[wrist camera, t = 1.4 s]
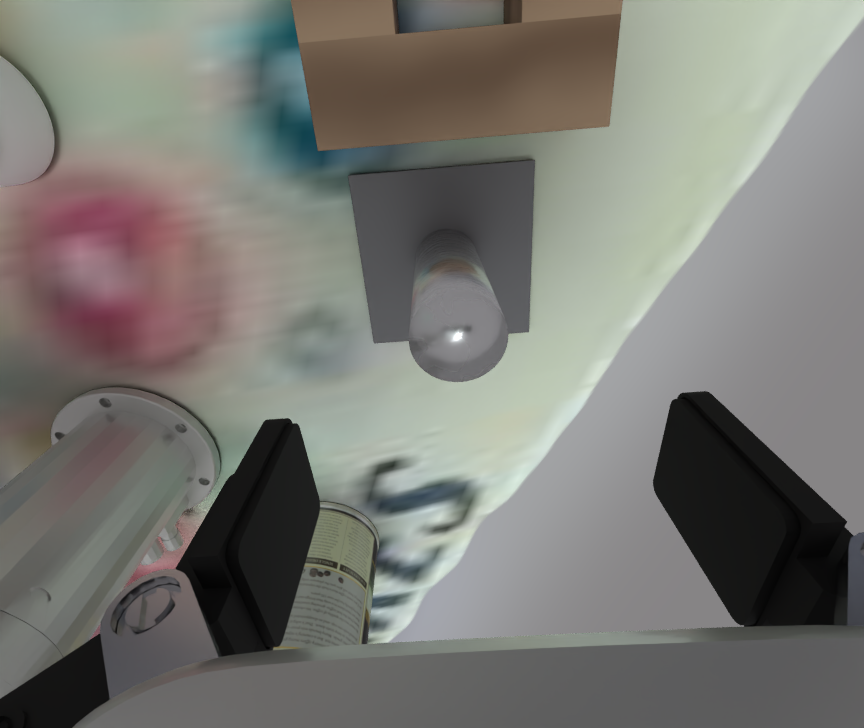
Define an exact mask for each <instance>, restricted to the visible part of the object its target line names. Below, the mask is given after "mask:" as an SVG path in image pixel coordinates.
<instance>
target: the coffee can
mask: <svg viewBox="0 0 864 728" xmlns="http://www.w3.org/2000/svg"><path fill="white" fill-rule="evenodd" d="M378 549H379V537H378V533H377V531H376V529H375V527H374V525H373V524H372V523H371V522H370V521H369V520H368V519H367V518H366V517H365V516H364V515H362V514H361V513H359V512H358V511H356V510H354V509H352V508H349V507H348V506H345V505H340V504H336V503H331V502H320V513H319V517H318V520H317V524H316V527H315V531H314V534H313V538H312V541H311V545H310V548H309V551H308V555H307V558H306V562H305V565H304V569H303V572H302V576H301V579H300V583H299V586H298V590H297V593H296V596H295V600H294V603H293V607H292V610H291V614H290V617H289V621H288V624H287V628H286V631H285V634H284V638H283V641H282V643H281V645H280V646H279V647H274V648H273V650H284V649H298V648H312V647H326V646H340V645H358V644H367V641H368V632H369V622H370V614H371V605H372V596H373V587H374V579H375V571H376V561H377V552H378Z"/></svg>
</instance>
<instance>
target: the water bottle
mask: <svg viewBox="0 0 864 728" xmlns="http://www.w3.org/2000/svg"><path fill="white" fill-rule="evenodd" d="M54 144H55V142H54V131H53V127H52V123H51V120H50V117H49V114H48V112H47V109H46V107H45V105H44V103H43V101H42V100H41V98H40V96H39V95H38V93H37V92H36V90H35V89H34V88H33V86H32V85H31V84H30V82H29V81H28V80H27V79H26V78H25V77H24V76H23V75H22V73H21V72H20V71H18V70H17V69H16V68H15V67H14V66H13V65H12V64H11V63H9V62H8V61H7V60H5V59H4V58H3V57H1V56H0V187H7V186H15V185H20V184H25V183H28V182H30V181H33V180H35V179H36V178H38V177H39V176H41V175H42V174H43V173H44V172H45V171H46V169H47V168H48V166H49V165H50V163H51V160H52V157H53V153H54Z"/></svg>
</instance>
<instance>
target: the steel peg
mask: <svg viewBox="0 0 864 728" xmlns="http://www.w3.org/2000/svg"><path fill="white" fill-rule="evenodd" d="M507 343H508V328H507V323H506V321H505V318H504V316H503V313H502V311H501V309H500V306H499V304H498V301H497V299H496V297H495V294H494V292H493V289H492V287H491V285H490V282H489V280H488V277H487V275H486V273H485V270H484V268H483V266H482V263H481V261H480V258H479V256H478V254H477V251H476V249H475V246H474V245H473V243H472V241H471V240H470V239H469V238H468V237H467V236H466V235H464V234H463V233H461V232H459V231H456V230H452V229H442V230H438V231H435V232H433V233H431V234H429V235H428V236H427V237H426V238H425V239H424V240H423V241H422V242H421V244H420V245H419V247H418V250H417V253H416V260H415V272H414V283H413V294H412V306H411V317H410V328H409V346H410V350H411V353H412V355H413V357H414V359H415V361H416V362H417V364H418V365H419V366H420V367H421V368H422V369H423V370H424V371H425V372H427V373H428V374H430V375H431V376H434V377H436V378H438V379H441V380H445V381H451V382H463V381H469V380H473V379H476V378H478V377H480V376H482V375H484V374H486V373H487V372H489V371H490V370H491V369H493V368H494V367H495V366H496V365H497V363H498V362H499V361H500V359H501V358H502V356H503V354H504V352H505V350H506V347H507Z"/></svg>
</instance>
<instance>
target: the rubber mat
mask: <svg viewBox="0 0 864 728" xmlns="http://www.w3.org/2000/svg"><path fill="white" fill-rule="evenodd" d="M534 171H535V160H522V161H510V162H498V163H486V164H474V165H462V166H450V167H438V168H426V169H414V170H402V171H390V172H378V173H366V174H354V175H348V178H349V185H350V191H351V198H352V204H353V211H354V217H355V224H356V230H357V237H358V243H359V250H360V256H361V263H362V269H363V276H364V282H365V289H366V295H367V302H368V308H369V315H370V321H371V328H372V334H373V341H374V343H385V342H399V341H409V328H410V317H411V306H412V294H413V283H414V272H415V260H416V253H417V250H418V247H419V245H420V244H421V242H422V241H423V240H424V239H425V238H426V237H427V236H428V235H429V234H431V233H433V232H435V231H438V230H442V229H452V230H456V231H459V232H461V233H463V234H464V235H466V236H467V237H468V238H469V239H470V240H471V241H472V243H473V245H474V246H475V249H476V251H477V254H478V256H479V258H480V261H481V263H482V266H483V268H484V270H485V273H486V275H487V277H488V280H489V282H490V285H491V287H492V289H493V292H494V294H495V297H496V299H497V301H498V304H499V306H500V309H501V311H502V313H503V316H504V318H505V321H506V323H507V328H508V334H509V333H523V332H529V313H530V285H531V256H532V228H533V199H534Z"/></svg>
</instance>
